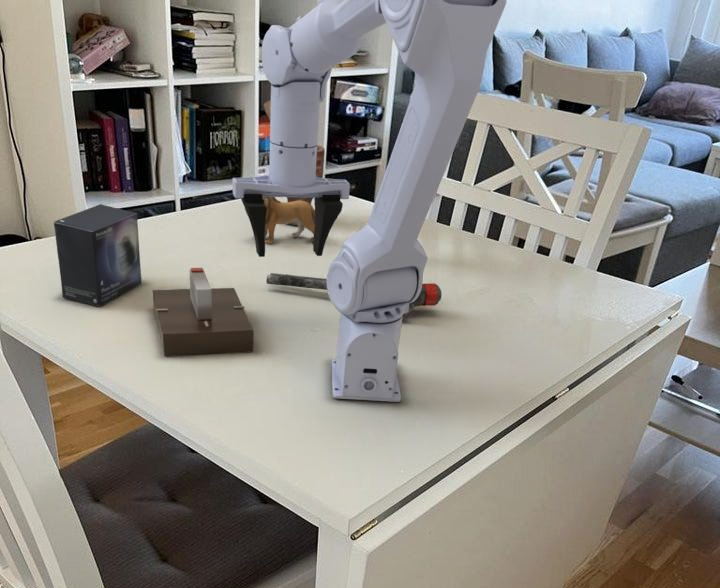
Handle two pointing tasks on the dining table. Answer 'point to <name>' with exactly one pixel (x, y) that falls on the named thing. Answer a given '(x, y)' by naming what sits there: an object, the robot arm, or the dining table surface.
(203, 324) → the block
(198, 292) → the tap handle
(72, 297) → the small box
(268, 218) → the lion figurine
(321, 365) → the dining table surface
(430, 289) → the grey and red tool
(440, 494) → the dining table surface
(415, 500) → the dining table surface
